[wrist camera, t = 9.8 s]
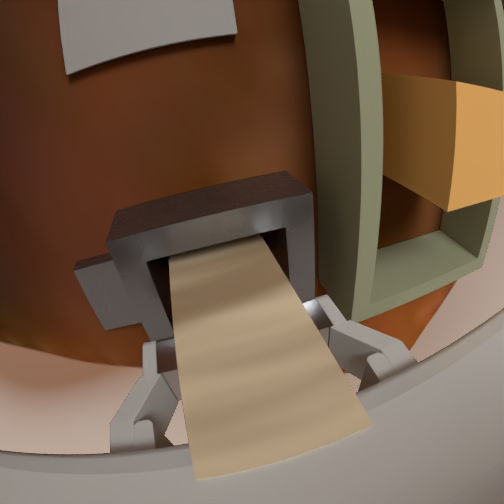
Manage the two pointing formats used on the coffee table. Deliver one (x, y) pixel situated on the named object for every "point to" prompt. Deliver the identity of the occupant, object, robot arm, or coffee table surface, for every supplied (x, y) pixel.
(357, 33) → the green rectangular frame
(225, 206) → the bracket
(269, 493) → the robot arm
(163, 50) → the coffee table surface
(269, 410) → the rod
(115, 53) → the mat
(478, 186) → the block
